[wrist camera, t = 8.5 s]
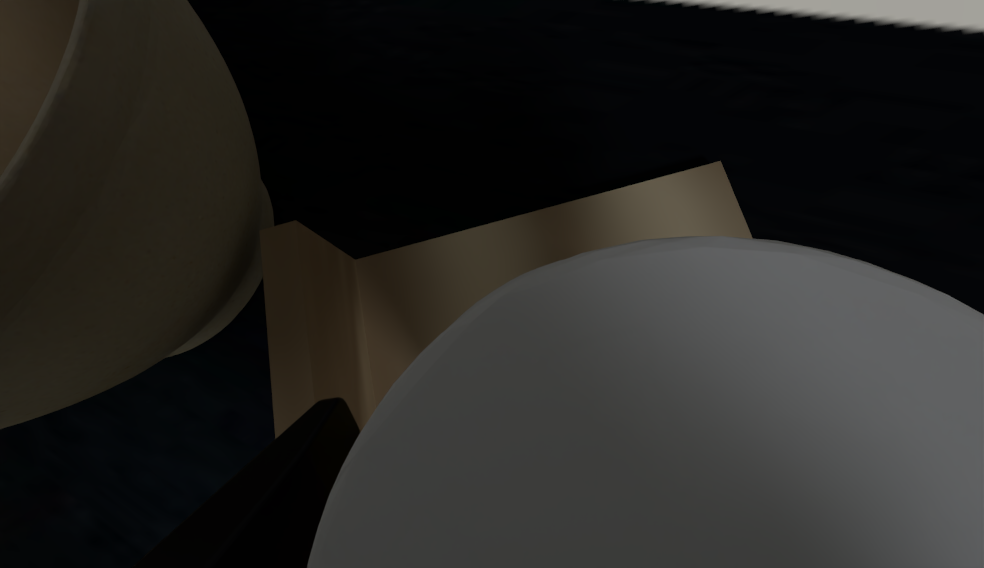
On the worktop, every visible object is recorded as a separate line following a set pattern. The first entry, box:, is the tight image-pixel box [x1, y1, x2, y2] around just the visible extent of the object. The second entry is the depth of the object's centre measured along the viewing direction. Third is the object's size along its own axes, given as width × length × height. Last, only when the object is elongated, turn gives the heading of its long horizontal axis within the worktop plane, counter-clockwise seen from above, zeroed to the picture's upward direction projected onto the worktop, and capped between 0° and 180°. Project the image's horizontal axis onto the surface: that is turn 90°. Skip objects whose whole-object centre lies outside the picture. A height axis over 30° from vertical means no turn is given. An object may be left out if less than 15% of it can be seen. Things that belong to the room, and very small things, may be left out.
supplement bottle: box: [307, 236, 984, 568], centre depth 8 cm, size 7×7×13 cm
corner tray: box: [260, 161, 753, 438], centre depth 13 cm, size 15×16×4 cm
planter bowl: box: [0, 0, 274, 429], centre depth 14 cm, size 16×16×11 cm
